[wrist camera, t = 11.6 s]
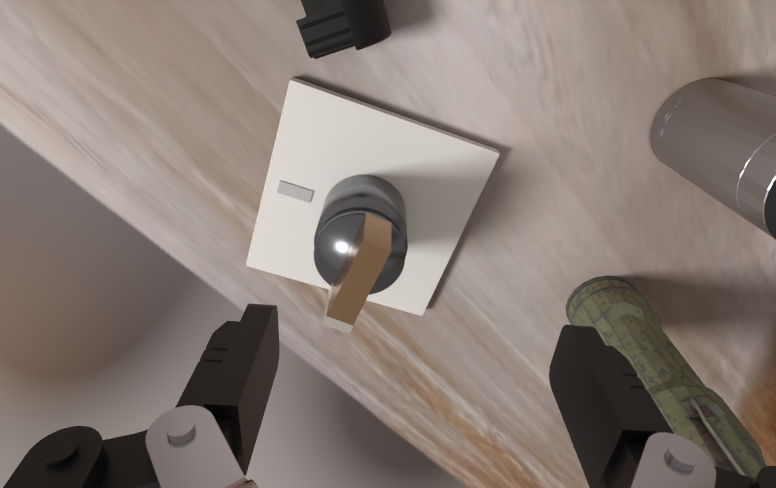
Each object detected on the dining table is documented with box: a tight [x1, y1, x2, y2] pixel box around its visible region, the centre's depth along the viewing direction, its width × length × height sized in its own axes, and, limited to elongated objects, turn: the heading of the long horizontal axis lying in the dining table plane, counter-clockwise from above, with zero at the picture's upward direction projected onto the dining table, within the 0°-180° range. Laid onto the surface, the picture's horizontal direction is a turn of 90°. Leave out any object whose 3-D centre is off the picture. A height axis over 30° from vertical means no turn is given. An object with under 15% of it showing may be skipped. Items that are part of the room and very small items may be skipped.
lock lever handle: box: [314, 207, 405, 334], centre depth 42 cm, size 9×8×7 cm
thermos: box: [566, 276, 767, 478], centre depth 44 cm, size 9×12×35 cm
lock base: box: [246, 77, 500, 316], centre depth 49 cm, size 22×22×9 cm
